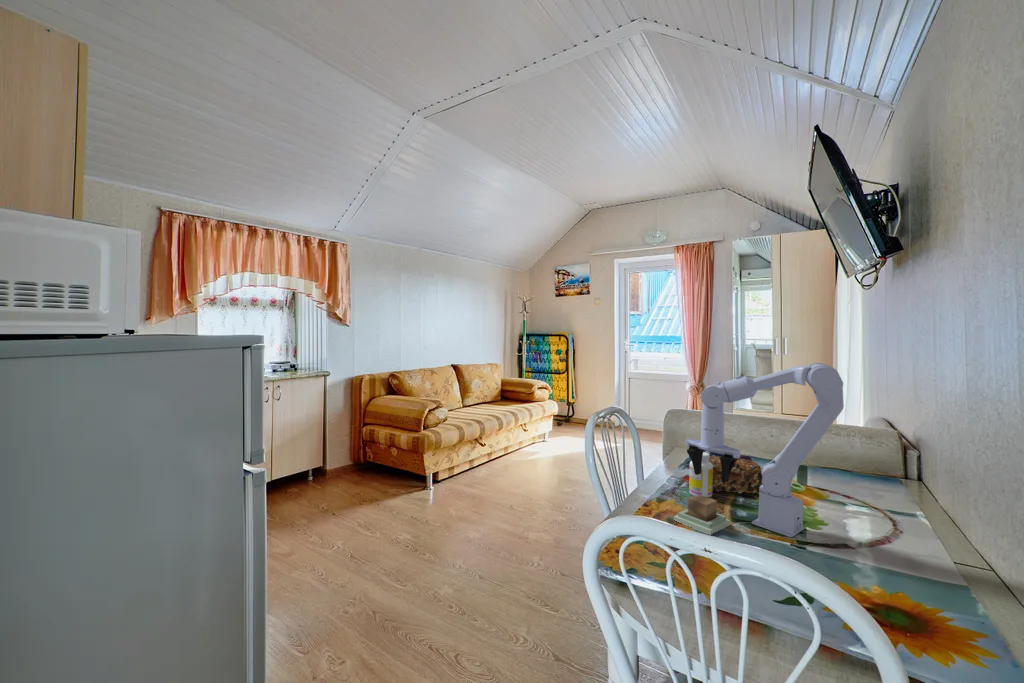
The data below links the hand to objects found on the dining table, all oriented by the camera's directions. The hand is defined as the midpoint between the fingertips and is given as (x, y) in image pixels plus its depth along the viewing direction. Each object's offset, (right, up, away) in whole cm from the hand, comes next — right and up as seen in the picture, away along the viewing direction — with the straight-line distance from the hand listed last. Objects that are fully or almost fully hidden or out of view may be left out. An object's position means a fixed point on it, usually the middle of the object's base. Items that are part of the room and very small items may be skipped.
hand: (711, 477), depth 120 cm
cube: (-5, -9, -6) cm, 12 cm away
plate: (-5, -10, -6) cm, 13 cm away
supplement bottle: (+3, -10, +14) cm, 18 cm away
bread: (+15, -10, +21) cm, 28 cm away
